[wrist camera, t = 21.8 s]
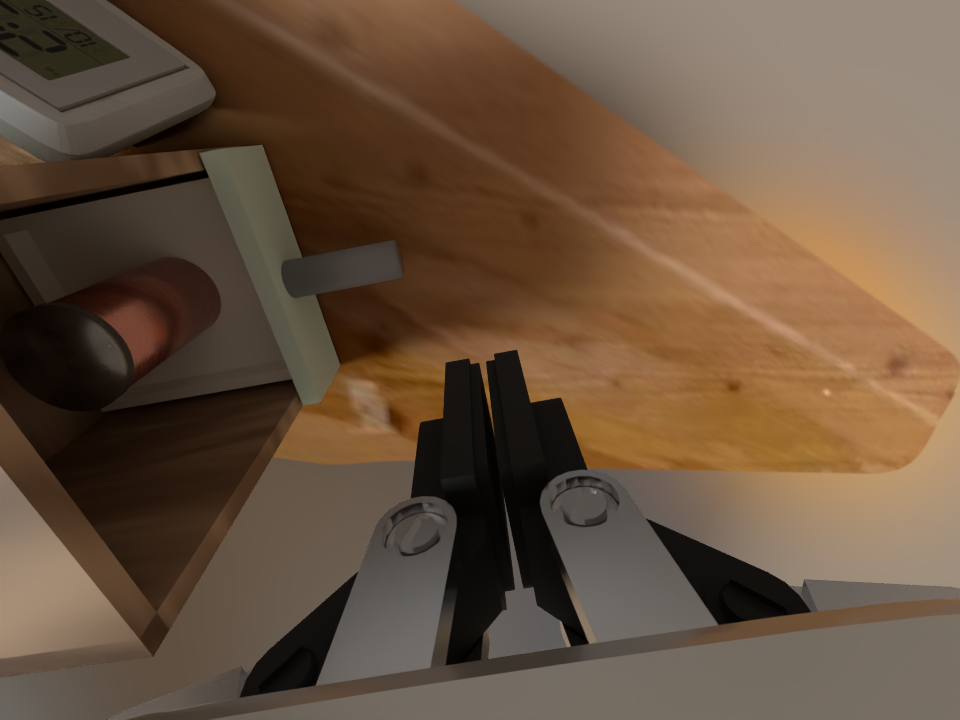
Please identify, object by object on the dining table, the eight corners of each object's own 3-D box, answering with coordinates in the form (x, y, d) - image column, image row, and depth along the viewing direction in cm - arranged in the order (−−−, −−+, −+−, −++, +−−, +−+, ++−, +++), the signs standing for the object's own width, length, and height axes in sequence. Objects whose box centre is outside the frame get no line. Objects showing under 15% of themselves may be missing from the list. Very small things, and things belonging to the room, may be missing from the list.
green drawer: (22, 194, 30) (-64, 207, 25) (372, 122, 29) (352, 121, 24) (142, 399, 37) (93, 440, 32) (429, 349, 36) (423, 384, 31)
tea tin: (206, 251, 30) (93, 302, 21) (233, 330, 32) (141, 406, 23) (123, 259, 30) (-26, 314, 21) (155, 337, 32) (34, 416, 23)
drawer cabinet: (4, 194, 30) (-856, 321, 11) (241, 145, 29) (-225, 186, 10) (130, 403, 37) (-248, 712, 18) (324, 369, 36) (153, 656, 17)
